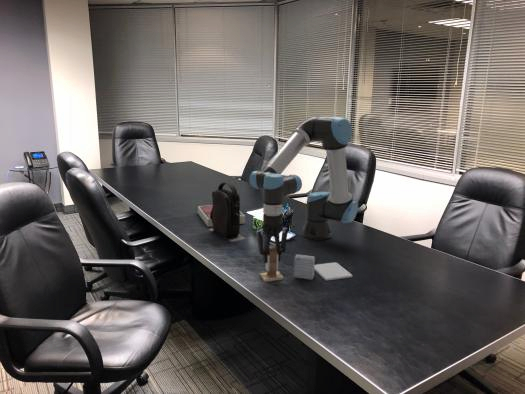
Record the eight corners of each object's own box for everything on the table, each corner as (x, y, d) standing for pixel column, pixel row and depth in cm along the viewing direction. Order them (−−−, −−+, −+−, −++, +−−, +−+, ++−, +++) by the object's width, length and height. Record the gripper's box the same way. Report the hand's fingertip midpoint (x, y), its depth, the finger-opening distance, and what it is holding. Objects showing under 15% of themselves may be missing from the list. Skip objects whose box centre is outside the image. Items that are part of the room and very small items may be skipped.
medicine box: (314, 275, 170) (315, 256, 168) (312, 280, 166) (313, 260, 164) (295, 273, 173) (296, 253, 170) (293, 277, 168) (294, 257, 166)
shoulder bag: (246, 238, 213) (246, 185, 206) (231, 241, 208) (231, 187, 201) (223, 227, 231) (222, 177, 224) (208, 230, 225) (207, 179, 218)
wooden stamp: (259, 275, 170) (260, 245, 167) (278, 273, 172) (278, 243, 169) (264, 281, 164) (265, 251, 161) (283, 279, 167) (284, 249, 164)
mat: (311, 267, 179) (311, 265, 179) (336, 263, 183) (336, 262, 182) (325, 280, 166) (326, 278, 166) (352, 277, 170) (352, 275, 169)
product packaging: (231, 211, 263) (231, 203, 262) (244, 224, 238) (245, 215, 236) (198, 214, 256) (197, 206, 255) (207, 227, 230) (207, 219, 229)
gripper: (256, 217, 156) (255, 275, 161) (295, 214, 161) (293, 270, 166) (250, 212, 163) (250, 267, 168) (288, 209, 168) (286, 263, 173)
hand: (271, 269), depth 167 cm, fingers closed on wooden stamp, 3 cm apart
